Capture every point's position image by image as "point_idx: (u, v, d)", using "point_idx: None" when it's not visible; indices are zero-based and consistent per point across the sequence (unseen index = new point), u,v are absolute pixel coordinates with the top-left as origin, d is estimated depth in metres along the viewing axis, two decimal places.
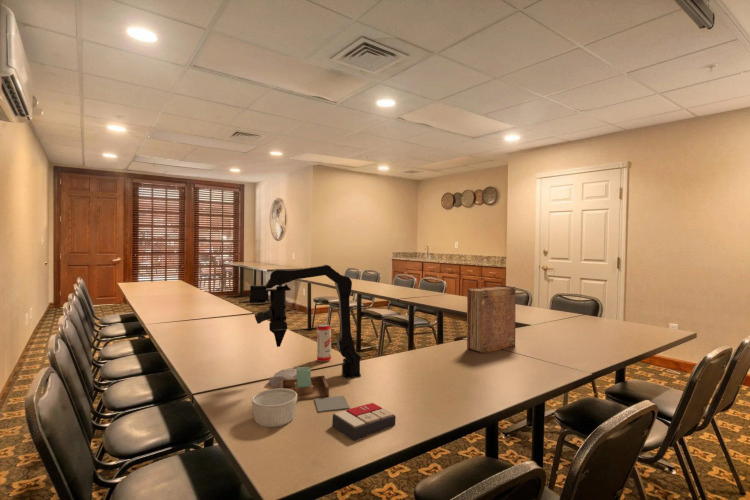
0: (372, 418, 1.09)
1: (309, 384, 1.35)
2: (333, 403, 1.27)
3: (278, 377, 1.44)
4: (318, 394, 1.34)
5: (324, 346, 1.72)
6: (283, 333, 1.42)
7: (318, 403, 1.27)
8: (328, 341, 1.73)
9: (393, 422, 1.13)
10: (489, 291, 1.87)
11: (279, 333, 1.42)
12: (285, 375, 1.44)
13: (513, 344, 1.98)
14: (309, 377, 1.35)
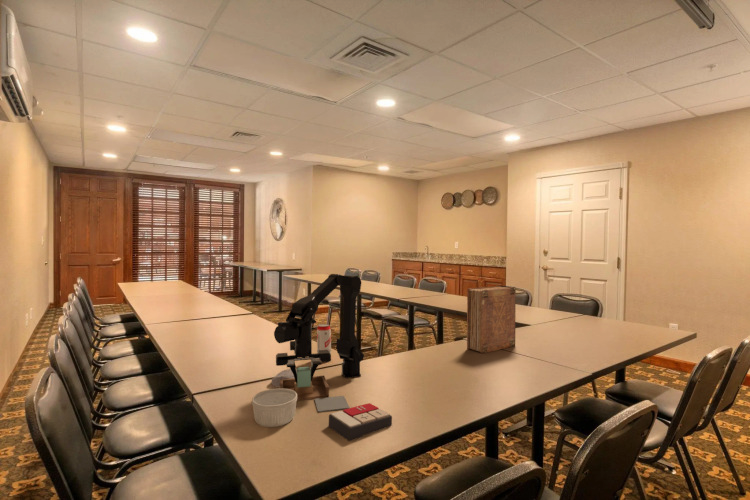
0: (368, 418, 1.09)
1: (309, 384, 1.35)
2: (333, 403, 1.27)
3: (281, 377, 1.44)
4: (318, 394, 1.34)
5: (324, 346, 1.72)
6: None
7: (318, 403, 1.27)
8: (328, 341, 1.73)
9: (389, 422, 1.12)
10: (489, 291, 1.87)
11: None
12: (288, 375, 1.44)
13: (513, 344, 1.98)
14: (309, 377, 1.35)
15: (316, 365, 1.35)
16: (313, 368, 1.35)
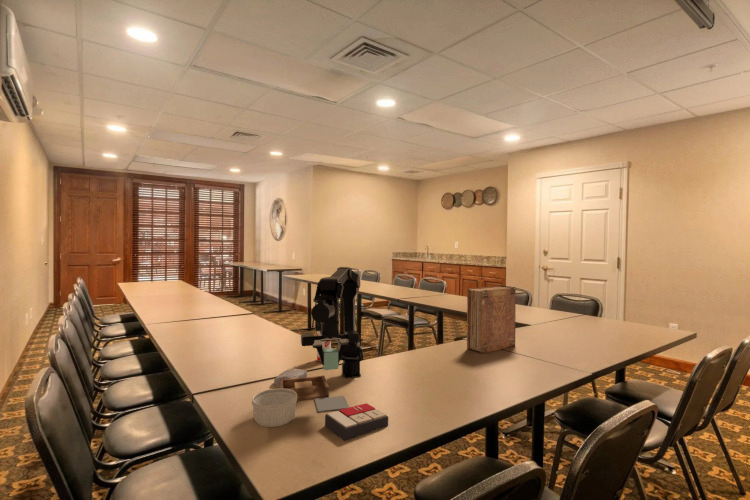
0: (364, 419, 1.09)
1: (337, 367, 1.26)
2: (333, 403, 1.27)
3: (283, 377, 1.44)
4: (318, 394, 1.34)
5: (324, 346, 1.72)
6: (318, 350, 1.25)
7: (318, 403, 1.27)
8: (328, 341, 1.73)
9: (386, 423, 1.12)
10: (489, 291, 1.87)
11: None
12: (290, 375, 1.44)
13: (513, 344, 1.98)
14: (337, 359, 1.26)
15: (344, 346, 1.26)
16: (341, 349, 1.26)
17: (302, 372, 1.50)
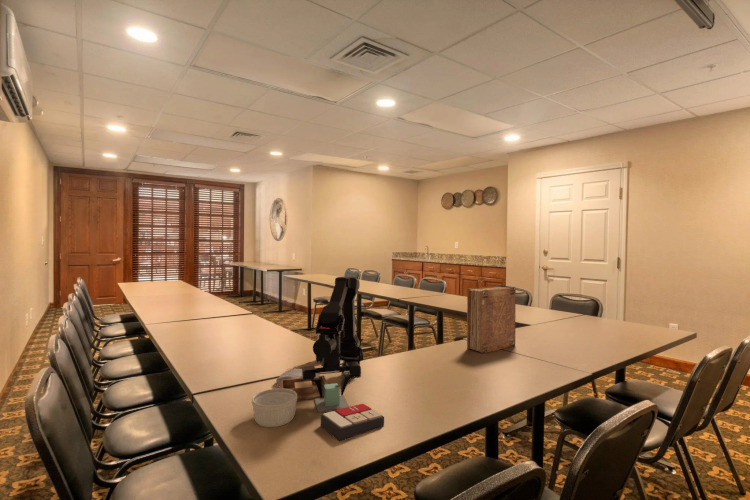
0: (359, 419, 1.09)
1: (338, 403, 1.26)
2: None
3: (285, 377, 1.44)
4: (318, 394, 1.34)
5: None
6: (316, 384, 1.24)
7: (318, 403, 1.27)
8: None
9: (381, 423, 1.12)
10: (489, 291, 1.87)
11: None
12: (292, 375, 1.44)
13: (513, 344, 1.98)
14: (338, 395, 1.26)
15: (348, 378, 1.26)
16: (345, 382, 1.26)
17: None
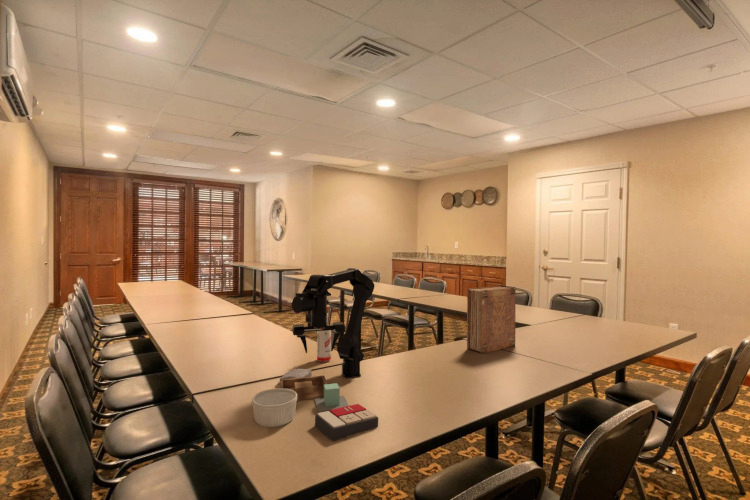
0: (353, 419, 1.09)
1: (338, 403, 1.26)
2: None
3: (289, 377, 1.44)
4: (318, 394, 1.34)
5: (324, 346, 1.72)
6: None
7: (318, 403, 1.27)
8: (328, 341, 1.73)
9: (376, 424, 1.12)
10: (489, 291, 1.87)
11: None
12: (296, 375, 1.44)
13: (513, 344, 1.98)
14: (338, 395, 1.26)
15: (337, 335, 1.41)
16: (334, 338, 1.41)
17: (307, 372, 1.51)
